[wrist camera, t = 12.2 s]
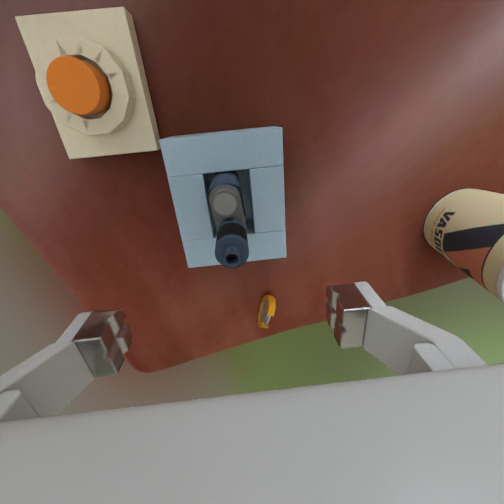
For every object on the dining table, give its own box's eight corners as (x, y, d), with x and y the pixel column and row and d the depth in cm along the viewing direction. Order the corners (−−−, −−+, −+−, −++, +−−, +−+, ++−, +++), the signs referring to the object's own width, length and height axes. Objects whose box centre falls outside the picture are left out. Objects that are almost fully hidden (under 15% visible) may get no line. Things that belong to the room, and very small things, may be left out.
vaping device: (222, 218, 28) (216, 279, 18) (210, 168, 26) (196, 203, 15) (246, 214, 28) (254, 272, 17) (236, 164, 26) (240, 196, 15)
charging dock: (170, 136, 25) (157, 139, 21) (274, 125, 25) (282, 127, 21) (194, 248, 30) (187, 269, 26) (279, 239, 31) (287, 258, 26)
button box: (30, 23, 21) (-6, 7, 18) (132, 14, 21) (114, -4, 18) (79, 156, 25) (57, 162, 22) (162, 148, 25) (152, 152, 22)
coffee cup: (416, 194, 29) (521, 238, 19) (502, 169, 29) (662, 199, 18) (415, 264, 34) (501, 332, 23) (490, 243, 33) (615, 303, 22)
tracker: (266, 288, 34) (270, 307, 30) (272, 289, 34) (277, 309, 30) (256, 312, 35) (259, 333, 32) (262, 313, 35) (265, 334, 32)
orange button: (52, 62, 19) (36, 57, 18) (100, 58, 20) (89, 53, 18) (71, 117, 21) (58, 117, 20) (116, 112, 21) (107, 112, 20)
